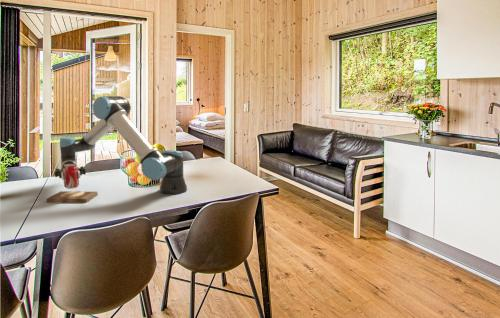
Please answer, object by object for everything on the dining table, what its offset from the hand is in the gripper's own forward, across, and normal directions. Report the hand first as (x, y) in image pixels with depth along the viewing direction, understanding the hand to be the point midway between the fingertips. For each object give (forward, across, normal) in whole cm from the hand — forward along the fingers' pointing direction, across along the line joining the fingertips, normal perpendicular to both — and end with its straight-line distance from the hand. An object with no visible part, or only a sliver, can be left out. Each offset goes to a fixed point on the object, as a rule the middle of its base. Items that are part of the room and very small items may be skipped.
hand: (71, 176), depth 175 cm
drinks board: (-5, 0, -13) cm, 14 cm away
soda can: (-5, 0, -7) cm, 9 cm away
